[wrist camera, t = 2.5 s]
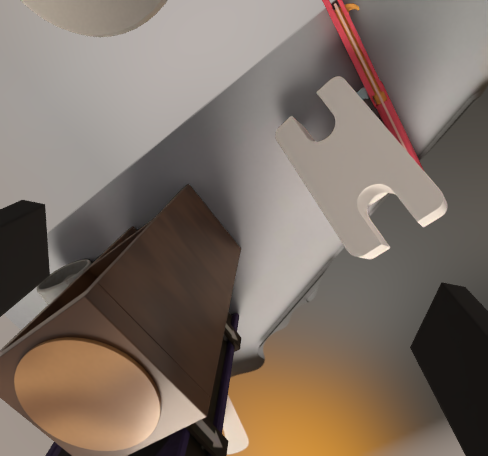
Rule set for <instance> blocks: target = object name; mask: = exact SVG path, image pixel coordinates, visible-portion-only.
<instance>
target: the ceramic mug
mask: <svg viewBox="0 0 488 456" xmlns="http://www.w3.org/2000/svg"><path fill="white" fill-rule="evenodd" d="M91 264H92V263H91V262H90V261H89V260H87V259H84V260H79V261H76V262H73V263H70V264H68V265H66V266H64V267H62V268H60V269H58V270H56V271H54V272H53V273H52V274H50V276H49V277H47V278H46V279H45V280H44V281H43V282H41V283H40V284H39V285H38V286H37V292H38V293H39V294H40V295H41V297H42V298H43V299H44V300H45V302H46V303H47V304H48V305H49V304H50V303H51V302H52V301H53V300H54V299H55V298H56V297H57V296H58V295H59V294H60V293H61V292H63V291H64V290H65V289H66V288H67V287H68V286H69V285H70V284H71V283H72V282H73V281H74V280H75V279H76V278H77V277H78V276H79V275H81V274H82V273H83V272H84V271H85V270H86V269H87V268H88V267H89V266H90V265H91Z"/></svg>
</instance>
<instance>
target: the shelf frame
mask: <svg viewBox="0 0 488 456" xmlns="http://www.w3.org/2000/svg"><path fill="white" fill-rule="evenodd" d="M240 252H241V248H240V247H239V246H238V244H237V243H236V242H235V241H234V239H233V238H232V237H231V236H230V234H229V233H228V232H227V231H226V229H225V228H224V227H223V226H222V224H221V223H220V222H219V221H218V219H217V218H216V217H215V216H214V215H213V213H212V212H211V211H210V210H209V208H208V207H207V206H206V205H205V203H204V202H203V201H202V200H201V198H200V197H199V196H198V195H197V193H196V192H195V191H194V190H193V188H192V187H191V186H190V185H189V184H188V185H186V186H185V187H184V188H183V189H182V190H181V191H180V192H179V193H178V194H177V195H176V196H175V197H174V198H173V199H172V200H171V201H170V202H169V203H168V204H167V205H166V206H165V207H164V209H163V210H162V211H161V212H160V213H159V214H158V215H157V216H156V217H155V218H154V219H153V220H151V221H150V222H149V223H147V224H146V225H145V226H143V227H142V228H140V229H139V230H138V231H137V230H136V229H135V227H134V226H132V227H131V228H130V229H128V230H127V231H126V232H125V233H124V234H123V235H122V236H121V237H120V238H119V239H118V240H117V241H116V242H115V243H113V244H112V245H111V246H110V247H109V248H108V249H107V250H106V251H105V252H104V253H103V254H102V255H101V256H100V257H99V258H98V259H96V260H95V261H94V262H93V263H92V264H91V265H90V266H89V267H88V268H87V269H86V270H85V271H84V272H83V273H82V274H81V275H79V276H78V277H77V278H76V279H75V280H74V281H73V282H72V283H71V284H70V285H69V286H68V287H67V288H66V289H65V290H64V291H63V292H61V293H60V294H59V295H58V296H57V297H56V298H55V299H54V300H53V301H52V302H51V303H50V304H49V305H48V306H47V307H46V308H44V309H43V310H42V311H41V312H40V313H39V314H38V315H37V316H36V317H35V318H34V319H33V320H32V321H31V322H30V323H29V324H27V325H26V326H25V327H24V328H23V329H22V330H21V331H20V332H19V333H18V334H17V335H16V336H15V337H14V338H13V339H12V340H11V341H9V343H7V344H6V345H5V346H4V347H3V348H2V349H1V350H0V352H2V351H3V350H4V349H6V348H7V347H9V346H10V345H11V344H13V343H14V342H15V341H17V340H18V339H20V338H21V337H22V336H24V335H25V334H27V333H28V332H29V331H31V330H32V329H33V328H35V327H36V326H38V325H39V324H40V323H42V322H43V321H45V320H46V319H47V318H49V317H50V316H51V315H53V314H54V313H56V312H57V311H58V310H60V309H61V308H63V307H64V306H65V305H67V304H68V303H69V302H71V301H72V300H74V299H75V298H76V297H78V296H79V295H81V294H82V293H83V292H85V291H86V290H87V289H89V288H90V287H92V286H93V285H94V284H96V283H97V284H99V285H100V286H101V287H102V288H103V289H104V290H105V292H106V293H107V294H108V295H109V296H110V297H111V298H112V299H113V300H114V301H115V302H116V303H117V304H118V305H119V306H120V307H121V308H122V309H123V310H124V311H125V312H126V313H127V314H128V315H129V316H130V317H131V318H132V319H133V320H134V321H135V322H136V323H137V324H138V325H139V326H140V327H141V328H142V329H143V330H144V331H145V332H146V333H147V334H148V335H149V336H150V337H151V338H152V339H153V340H154V341H155V342H156V343H157V344H158V345H159V346H160V347H161V348H162V349H163V350H164V351H165V352H166V353H167V354H168V355H169V356H170V357H171V358H172V359H173V360H174V361H175V363H176V364H177V365H178V366H179V367H180V368H181V369H182V370H183V371H184V372H185V373H186V374H187V375H188V376H189V377H190V378H191V379H192V380H193V381H194V382H195V383H196V384H197V385H198V386H199V387H200V388H201V389H202V390H203V391H204V392H205V393H206V394H207V395H208V396H209V397H210V398H211V395H212V390H213V385H214V380H215V375H216V370H217V365H218V360H219V355H220V351H221V346H222V341H223V336H224V331H225V326H226V321H227V316H228V311H229V306H230V301H231V296H232V291H233V286H234V281H235V276H236V271H237V267H238V262H239V257H240Z"/></svg>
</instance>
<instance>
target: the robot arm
mask: <svg viewBox="0 0 488 456" xmlns="http://www.w3.org/2000/svg"><path fill="white" fill-rule="evenodd" d="M49 276H50V272H49V257H48V242H47V228H46V213H45V204H40V203H35V202H30V201H25V200H21V201H19V202H16V203H14V204H12V205H9V206H7V207H5V208H3V209H0V317H1V316H2V315H3V314H4V313H6V312H7V311H8V310H9V309H10V308H12V307H13V306H14V305H15V304H16V303H17V302H19V301H20V300H21V299H22V298H23V297H25V296H26V295H27V294H28V293H29V292H31V291H32V290H33V289H34V288H35V287H37V286H38V285H39V284H40V283H41V282H43V281H44V280H45V279H46V278H47V277H49ZM410 348H411V350H412V352H413V354H414V356H415V358H416V360H417V362H418V364H419V366H420V368H421V370H422V372H423V373H424V376H425V377H426V379H427V381H428V383H429V385H430V387H431V389H432V391H433V393H434V395H435V397H436V399H437V401H438V403H439V405H440V407H441V409H442V411H443V413H444V414H445V416H446V418H447V420H448V422H449V424H450V426H451V428H452V430H453V432H454V434H455V436H456V438H457V440H458V442H459V444H460V446H461V448H462V450H463V452H464V453H465V455H466V456H488V311H487V310H486V309H485V308H484V307H483V305H482V304H481V303H479V301H478V300H477V299H476V298H475V297H474V296H473V295H472V294H471V293H470V292H469V291H468V290H467V289H466V287H462V286H457V285H452V284H447V283H441V285H440V287H439V289H438V291H437V293H436V295H435V297H434V299H433V301H432V304H431V306H430V308H429V310H428V312H427V314H426V316H425V318H424V320H423V322H422V324H421V326H420V328H419V330H418V333H417V334H416V337H415V339H414V341H413V343H412V345H411V347H410Z"/></svg>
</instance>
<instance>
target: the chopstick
mask: <svg viewBox="0 0 488 456" xmlns="http://www.w3.org/2000/svg"><path fill="white" fill-rule="evenodd" d="M322 1H323V3H324V5H325V7H326V9H327V11H328V13H329V15H330V17H331V19H332V21H333V23H334V25H335V27H336V29H337V31H338V33H339V36H340V38H341V40H342V42H343V44H344V46H345V48H346V50H347V52H348V54H349V56H350V58H351V60H352V62H353V64H354V66H355V68H356V70H357V72H358V74H359V76H360V78H361V80H362V83H363V85H364V87H363V88H361V89H360V90H359V91H358V92H356V93H357V94H358V95H359V96H360V98H361V99H363V100H364V99H365V98H367V99H368V95H369V97H370V99H371V101H372V103H373V105H374V107H375V108H377V110H378V112H379V114H380V116H381V118H382V120H383V122H384V125H385V127H386V128H387V129H388V130H389V131H390V132H391V134H392V135H393V136H394V137H395V138H396V139H397V140H398V142H399V143H400V144H401V145H402V146H403V147H404V149H405V150H406V151H407V152H408V153H409V154H410V156H411V157H412V158H413V159H414V160H415V161H416V162H417V164H418V165H419V166H420V167H421V168H422V166H421V163H420V161H419V159H418V157H417V155H416V153H415V151H414V149H413V147H412V145H411V142H410V140H409V138H408V136H407V134H406V132H405V130H404V128H403V126H402V124H401V122H400V119H399V117H398V115H397V113H396V111H395V109H394V107H393V105H392V103H391V100H390V98H389V96H388V94H387V92H386V90H385V88H384V85H383V83H382V82H381V81H380V80H379V77H378V75H377V73H376V71H375V69H374V67H373V65H372V63H371V61H370V58H369V56H368V54H367V52H366V50H365V48H364V46H363V44H362V42H361V39H360V37H359V35H358V33H357V31H356V29H355V27H354V25H353V22H352V20H351V18H350V16H349V11H350V10H353V9H356V10H359V7H358V6H357V5H356V4H345V5H344V3H343V1H342V0H337V1H338V3H339V5H340V7H337V4H336V3H335V4H334V6H335V9H336V10H334V9H333V8H332V5H331V3H330V1H329V0H322ZM332 9H333V10H332ZM372 96H373V97H374V99H375V101H376V103H377V104H375V102H374V100H373V98H372ZM422 169H423V168H422ZM423 171H424V170H423Z"/></svg>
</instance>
